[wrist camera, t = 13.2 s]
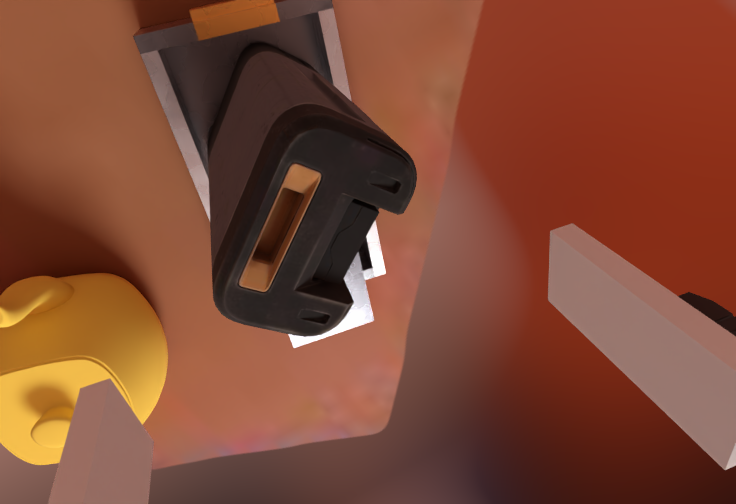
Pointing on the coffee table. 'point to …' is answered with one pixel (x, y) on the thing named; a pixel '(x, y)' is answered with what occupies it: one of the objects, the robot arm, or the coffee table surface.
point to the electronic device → (294, 193)
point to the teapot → (72, 355)
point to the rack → (212, 74)
